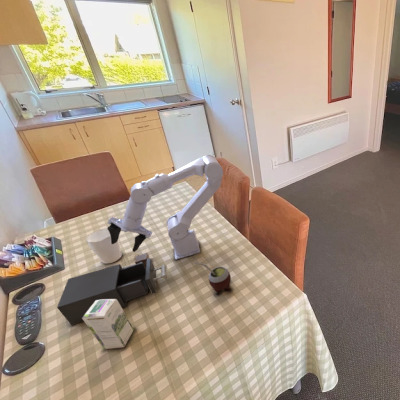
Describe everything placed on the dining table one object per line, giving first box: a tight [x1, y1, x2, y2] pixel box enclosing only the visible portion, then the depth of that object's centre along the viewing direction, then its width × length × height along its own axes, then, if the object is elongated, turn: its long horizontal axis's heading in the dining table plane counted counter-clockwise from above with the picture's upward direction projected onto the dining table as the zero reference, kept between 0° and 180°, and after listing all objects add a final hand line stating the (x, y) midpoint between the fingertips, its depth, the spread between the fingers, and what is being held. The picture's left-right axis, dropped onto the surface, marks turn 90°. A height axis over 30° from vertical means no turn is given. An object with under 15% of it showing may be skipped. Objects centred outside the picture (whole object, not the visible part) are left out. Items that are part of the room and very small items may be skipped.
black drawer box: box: [56, 263, 127, 326], centre depth 88 cm, size 15×13×9 cm
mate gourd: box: [194, 262, 232, 296], centre depth 90 cm, size 8×8×15 cm
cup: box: [85, 227, 123, 264], centre depth 106 cm, size 9×9×12 cm
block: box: [134, 252, 150, 268], centre depth 104 cm, size 4×4×4 cm
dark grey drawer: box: [117, 257, 168, 302], centre depth 93 cm, size 18×11×7 cm, turn 117°
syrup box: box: [82, 299, 135, 350], centre depth 75 cm, size 6×6×14 cm
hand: (124, 246), depth 99 cm, fingers open, 7 cm apart
